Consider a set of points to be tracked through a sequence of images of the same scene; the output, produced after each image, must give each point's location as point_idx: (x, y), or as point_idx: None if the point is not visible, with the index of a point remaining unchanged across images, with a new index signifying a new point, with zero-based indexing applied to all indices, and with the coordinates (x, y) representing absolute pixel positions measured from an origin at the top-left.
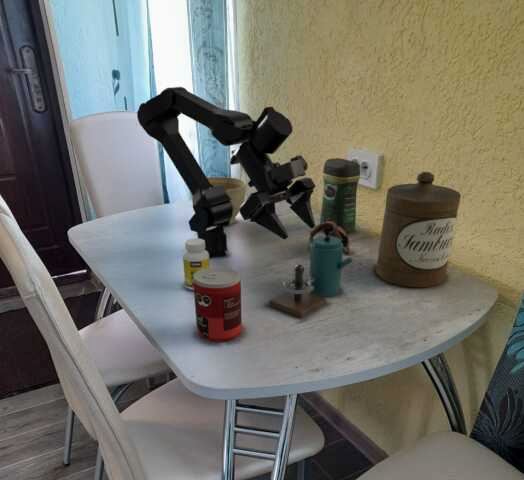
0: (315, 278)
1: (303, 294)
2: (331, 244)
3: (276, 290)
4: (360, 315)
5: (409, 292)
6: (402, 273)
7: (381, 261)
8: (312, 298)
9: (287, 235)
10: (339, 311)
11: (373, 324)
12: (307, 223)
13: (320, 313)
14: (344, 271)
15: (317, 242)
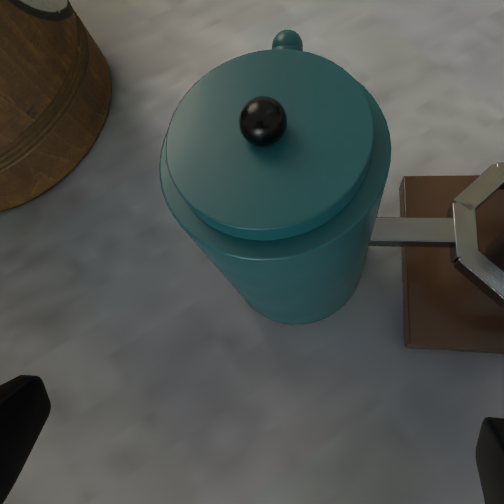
0: (392, 219)
1: (443, 265)
2: (327, 64)
3: (444, 436)
4: (390, 66)
5: (143, 53)
6: (89, 54)
7: (32, 135)
8: (446, 215)
9: (497, 424)
10: (415, 124)
11: (416, 14)
12: (11, 468)
13: (482, 160)
14: (80, 295)
15: (359, 153)
